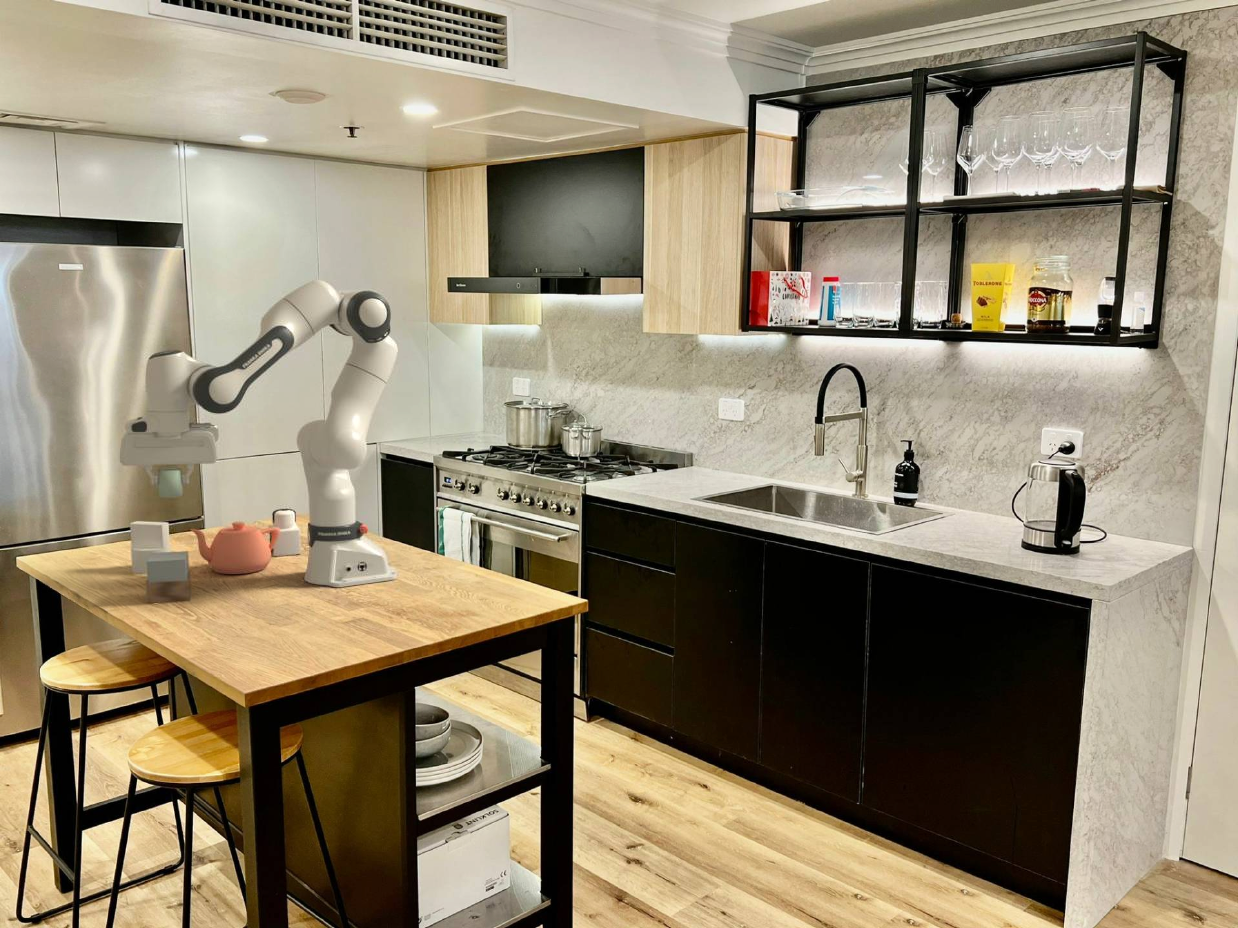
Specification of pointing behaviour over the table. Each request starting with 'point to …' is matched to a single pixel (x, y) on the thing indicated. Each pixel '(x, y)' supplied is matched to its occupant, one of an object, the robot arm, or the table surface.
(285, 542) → the white bottle
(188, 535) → the table surface
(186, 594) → the bottom block
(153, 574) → the top block
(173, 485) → the pale green cylinder
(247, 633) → the table surface
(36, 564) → the table surface
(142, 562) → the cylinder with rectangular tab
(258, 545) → the teapot
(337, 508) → the robot arm
